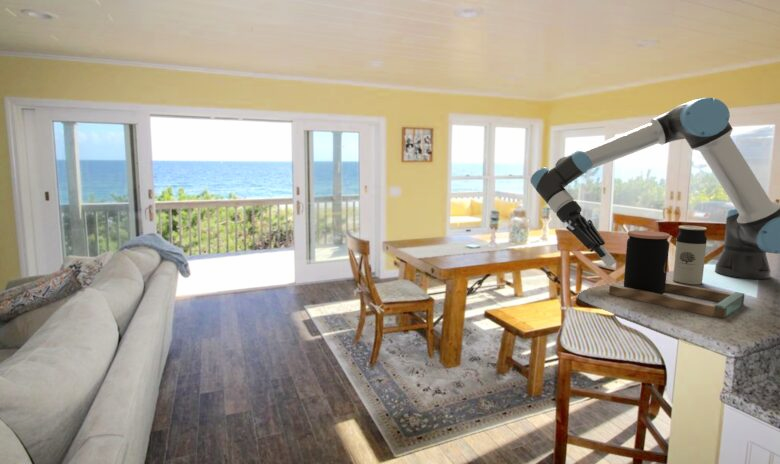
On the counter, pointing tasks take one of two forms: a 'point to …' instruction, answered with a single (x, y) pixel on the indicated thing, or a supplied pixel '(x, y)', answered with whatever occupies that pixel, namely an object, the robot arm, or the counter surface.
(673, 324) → the counter surface
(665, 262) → the coffee jar
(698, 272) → the travel mug
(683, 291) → the bay
